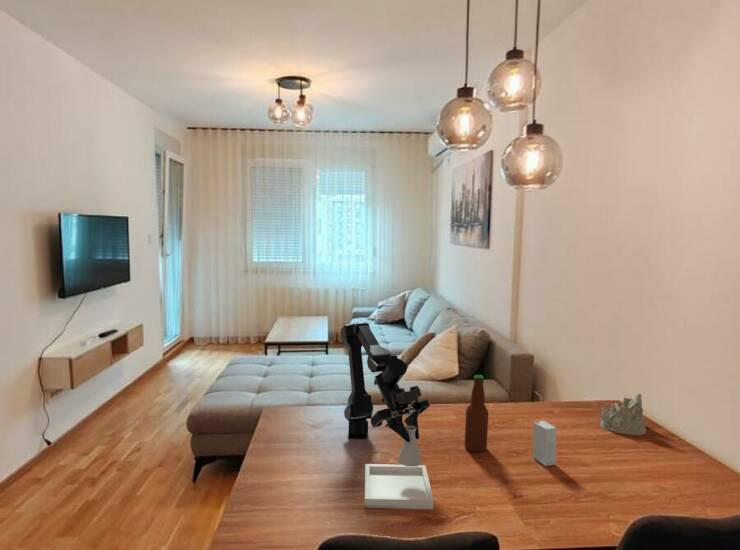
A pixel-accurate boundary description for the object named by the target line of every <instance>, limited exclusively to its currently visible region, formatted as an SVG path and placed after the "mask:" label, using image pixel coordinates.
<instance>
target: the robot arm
mask: <svg viewBox="0 0 740 550" xmlns="http://www.w3.org/2000/svg"><path fill="white" fill-rule="evenodd" d="M340 337H341V339H342V344H343V345H344V346H345V348H346V349H347V352H348V353H347V354H348V364H349V372H350V384H351V385H350V386H351V387H350V388H351V392H350V393H349V396H348V398H347V403H348V404H347V405H346V406H345V409H344V410H343V413H344V414H343V415H344V418H345V419H346V420H347V422H348V432H347V433H348V434H347V438H348V439H363V440H364V439H365V440H366V439H367V437H368V435H369V420H370V424H371V427H372V428H377V427H381V426H382V425H383V422H384V421H385V422H386V424H385V427H386V428H389V429H391V430H392V431H394V432H395V433H396V434H397V435H398V436H400V437H401V438H402V439H403V441H407V442H410V438H409V435H408V433H407V431H406V428H405V427H406V426H415V427H416V431H415V438H416V440H419V439H420V433H419V426H418V425H419V423H418V421H419V420H418V417H419V415H421V414H423V413H424V412H425V411H427V409H428V408H430V407H431V404H430V403H429V401H428V399H427V398H420V399H419V397H421V396H422V391H421V389H420V387H419V386H418V385H414V386H410V387H409V390H407V391H406V390H405V388H403V387H401V388H400V386H399V382H400V381H401V380H402V378H403V377H404V376H405V374H406V373H407V371H408V365H407V363H406V362H405V361H404V360H402V359H401V358H399V357H398V355H396V354H394V355H393V354H391V353H390V351H389V350H388V349H387V348H385V347H382V346H381V345H380V343H379V342H378V339H377V338H376V336H375V335H374V332H373V331H372V330H371V328H370V323H369V322H367V321H361V322H360V321H359V322H358V321H357V322H355V323H352V324H344V325H343V327H341V328H340ZM362 347H363V349H364V351H365V353H366V356H367V359H366V363H367V368H368V369H369V370H370V372H372V373H378V374H377V375H375V376H374V380H373V385H374V386H376V385H377V387H378V390H379V392H380V394H381V396H382V399H381V402H382V403H383V404H384V403H385V405H386V407H387V408H384V409H380V410H377V411H376V412H375V413H374V414H373V412H374V404H373V402H372V396H371V394H369V393H368V392H367V390H366V383H365V375H364V364H363V353H362ZM403 416H405V418H404V420H403ZM403 421H404V422H403ZM404 423H405V424H406V426H405V424H404Z"/></svg>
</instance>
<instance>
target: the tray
mask: <svg viewBox="0 0 740 550" xmlns="http://www.w3.org/2000/svg"><path fill="white" fill-rule="evenodd" d="M364 466H365V469H364V470H365V474H364V509H365V508H366V509H396V510H397V509H400V510H401V509H402V510H403V509H404V510H405V509H406V510H408V509H409V510H434V496H433V493H432V492H433V491H432V488H431V483H430V480H429V475H428V471H427V466H426V465H424V464H423V465H422V464H420V465H418V466H405V465H402V464H389V463H388V464H387V463H386V464H385V463H384V464H383V463H379V464H378V463H365V464H364Z"/></svg>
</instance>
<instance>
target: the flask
mask: <svg viewBox="0 0 740 550" xmlns="http://www.w3.org/2000/svg"><path fill="white" fill-rule="evenodd" d="M405 428H406V431H407V433H408V435H409V438H410V442H407V441H405V440H403V441H404V442H403V443H402V447H401V449H400V452H399V454H398V456H397V463H398V464H399V465H405V466H418V465H422V463H423V459H422V455H421V453H420V449H419V446H418V443H417V439H416V438H415V431H416V427H415V426H407V425H406V426H405Z"/></svg>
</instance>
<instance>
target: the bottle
mask: <svg viewBox="0 0 740 550" xmlns="http://www.w3.org/2000/svg"><path fill="white" fill-rule="evenodd" d="M484 379H485V377H484V376H483V375H482V374H475V375H474V376H473V387H472V390H471V397H470V404H469V405H468V406H467V408H466V410H465V422H464V423H465V425H464V427H465V428H464V447H465V448H466V450H468V451H470V452H473V453H482V452H485V451H486V449H487V447H488V446H487V445H488V444H487V443H488V429H489V410H488V409H487V406H486V404H485V397H486V396H485V387H484Z"/></svg>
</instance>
